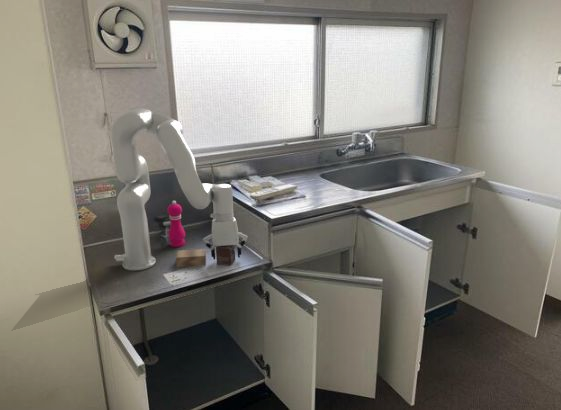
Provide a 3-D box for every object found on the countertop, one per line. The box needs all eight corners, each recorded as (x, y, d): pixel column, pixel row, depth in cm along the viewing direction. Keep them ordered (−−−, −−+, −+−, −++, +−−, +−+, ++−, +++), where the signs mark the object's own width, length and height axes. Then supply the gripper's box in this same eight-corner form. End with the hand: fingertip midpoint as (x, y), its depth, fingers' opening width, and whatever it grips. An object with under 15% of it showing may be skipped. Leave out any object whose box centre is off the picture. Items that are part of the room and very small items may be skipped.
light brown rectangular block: (176, 267, 172) (176, 257, 171) (178, 259, 179) (177, 250, 178) (205, 265, 173) (204, 255, 172) (206, 258, 180) (205, 248, 179)
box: (231, 265, 173) (230, 248, 171) (216, 264, 174) (215, 247, 172) (235, 259, 178) (234, 242, 176) (221, 258, 180) (220, 241, 178)
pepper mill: (188, 241, 198) (185, 198, 192) (182, 247, 191) (178, 203, 185) (172, 240, 199) (169, 198, 193) (166, 247, 192) (162, 202, 186)
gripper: (200, 220, 166) (204, 262, 171) (246, 217, 168) (249, 259, 173) (201, 214, 173) (204, 255, 178) (245, 211, 175) (248, 252, 180)
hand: (226, 257), depth 176 cm, fingers open, 9 cm apart
